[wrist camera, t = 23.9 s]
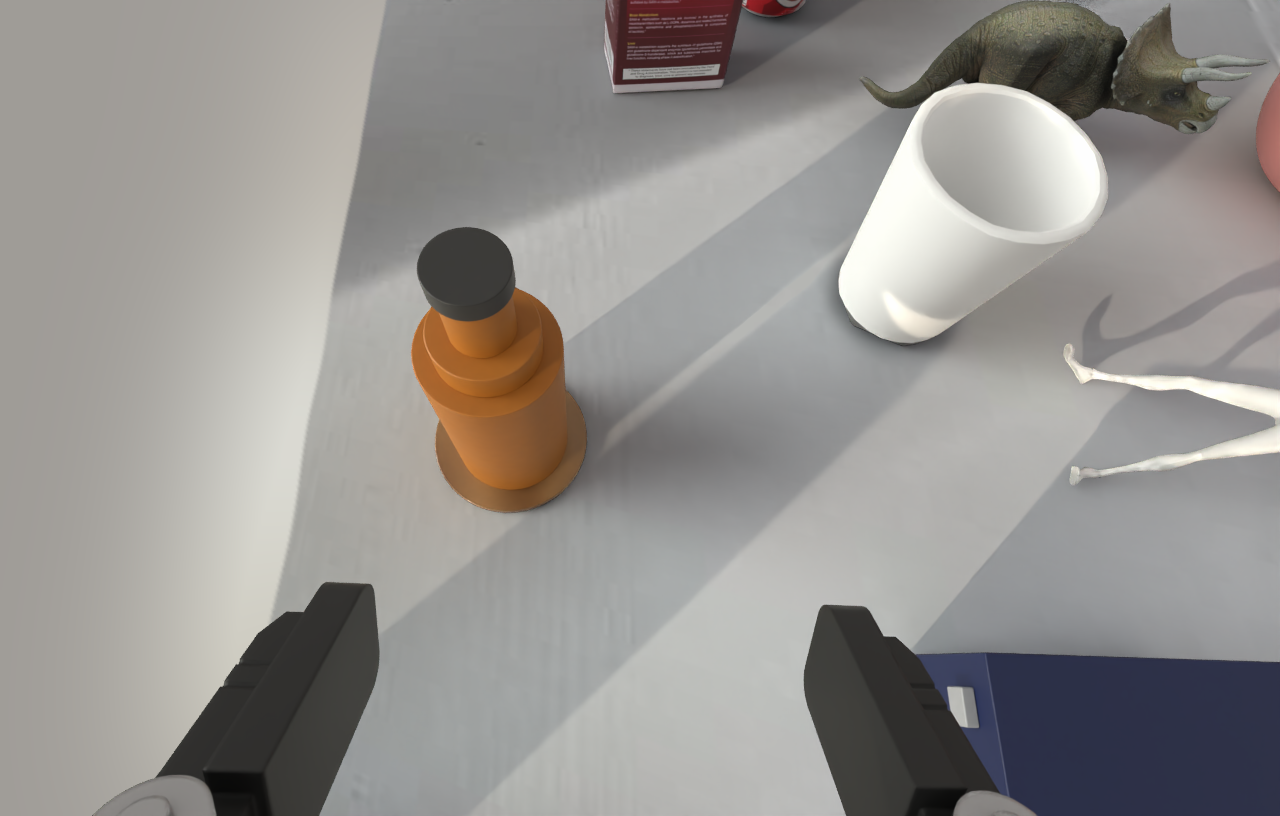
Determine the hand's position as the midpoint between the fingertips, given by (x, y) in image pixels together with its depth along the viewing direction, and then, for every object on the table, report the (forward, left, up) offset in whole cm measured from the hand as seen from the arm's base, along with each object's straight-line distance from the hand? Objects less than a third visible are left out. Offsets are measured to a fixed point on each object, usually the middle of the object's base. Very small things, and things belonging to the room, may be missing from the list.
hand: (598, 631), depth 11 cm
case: (+18, -16, -22) cm, 33 cm away
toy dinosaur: (+43, +19, -23) cm, 53 cm away
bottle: (+2, +12, -22) cm, 25 cm away
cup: (+27, +10, -23) cm, 37 cm away
